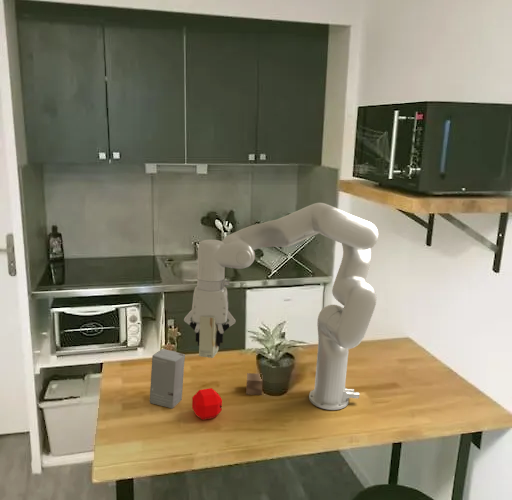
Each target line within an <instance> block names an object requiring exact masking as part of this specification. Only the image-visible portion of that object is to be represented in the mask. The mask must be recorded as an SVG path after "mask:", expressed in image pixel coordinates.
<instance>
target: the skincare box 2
mask: <svg viewBox="0 0 512 500" xmlns="http://www.w3.org/2000/svg"><path fill="white" fill-rule="evenodd" d="M218 331H219V329H218V325H217V324H216V323H215V317H212V316H200V336H199V346H198V357H201V358H210V359H214V358H215V356H216V354H217V353H218V351H219V347H218V346H217V339H218Z"/></svg>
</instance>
